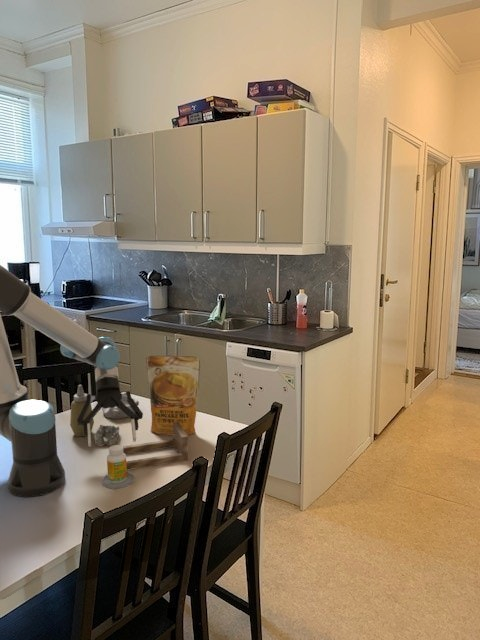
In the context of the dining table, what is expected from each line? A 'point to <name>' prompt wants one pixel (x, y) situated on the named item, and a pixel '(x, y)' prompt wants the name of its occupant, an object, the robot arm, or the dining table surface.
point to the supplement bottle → (116, 464)
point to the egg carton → (106, 435)
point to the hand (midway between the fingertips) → (112, 442)
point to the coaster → (118, 485)
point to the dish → (118, 410)
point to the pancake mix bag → (173, 392)
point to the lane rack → (178, 442)
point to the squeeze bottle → (76, 410)
